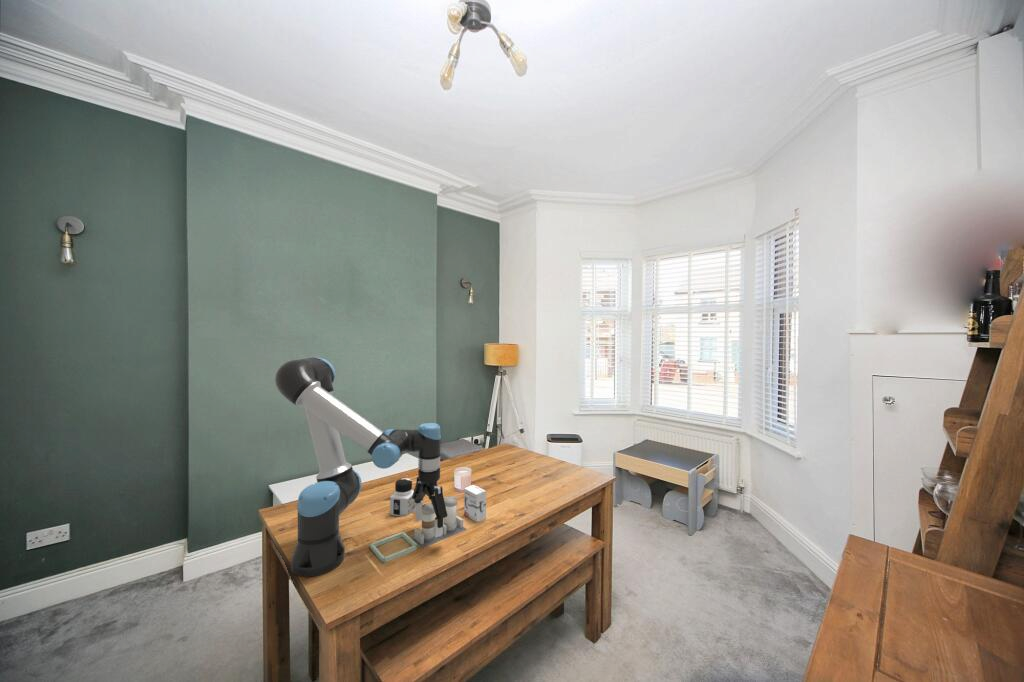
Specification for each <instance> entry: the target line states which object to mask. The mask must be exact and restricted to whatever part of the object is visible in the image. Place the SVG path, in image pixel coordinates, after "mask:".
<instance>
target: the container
mask: <svg viewBox="0 0 1024 682" xmlns="http://www.w3.org/2000/svg"><path fill="white" fill-rule="evenodd" d="M394 486H395V487H394V489H395V490H394V493H393V494H392V495H391V496H389V497H390V498H389V499H390V501H389V503H390V504H389V515H390V516H396V517H403V516H409V515H410V514H412V513H413V512H414V511H415V508H416V503H415V501H414V499H412V495H413V492H414V490H413V480H412V479H411V478H400V479H398V480H396V481H395V484H394Z"/></svg>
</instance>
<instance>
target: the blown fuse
mask: <svg viewBox="0 0 1024 682" xmlns="http://www.w3.org/2000/svg"><path fill="white" fill-rule="evenodd" d="M435 518H436V514H435V511H434V508H433V505H432V502H431V503H430V502H428V503H423V506H422V520H421V531H420V532H421V533H422V534H424V541H431V540H433V539H434V538H435Z"/></svg>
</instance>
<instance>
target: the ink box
mask: <svg viewBox="0 0 1024 682" xmlns="http://www.w3.org/2000/svg"><path fill="white" fill-rule="evenodd" d="M463 509H464V511H463V513H464V515H465V516H466V517H468V518H469V519H470V520H473V521H474V522H475V523H478V522H481V521H484V520H485V519H487V490H485V489H483V488H481V487H479V486H477V485H474V484H471V485H469V486H467V487H464V488H463Z"/></svg>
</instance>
